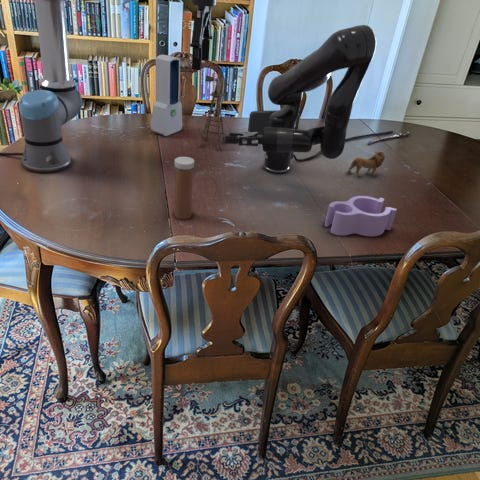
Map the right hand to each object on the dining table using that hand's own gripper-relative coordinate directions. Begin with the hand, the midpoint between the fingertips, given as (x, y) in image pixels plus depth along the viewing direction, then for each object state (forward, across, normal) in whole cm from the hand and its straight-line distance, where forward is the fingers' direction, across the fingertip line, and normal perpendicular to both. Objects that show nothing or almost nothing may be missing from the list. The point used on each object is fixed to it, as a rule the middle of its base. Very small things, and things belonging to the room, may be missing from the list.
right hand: (227, 138), depth 147 cm
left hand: (+10, -8, -22) cm, 25 cm away
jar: (+10, +17, +21) cm, 29 cm away
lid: (+9, +21, +4) cm, 23 cm away
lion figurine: (-48, -32, +16) cm, 60 cm away
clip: (-42, +8, +24) cm, 49 cm away
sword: (-64, -75, +7) cm, 99 cm away
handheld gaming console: (-11, -61, +5) cm, 63 cm away
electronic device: (+32, -47, +4) cm, 57 cm away
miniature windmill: (+12, -40, +8) cm, 42 cm away
